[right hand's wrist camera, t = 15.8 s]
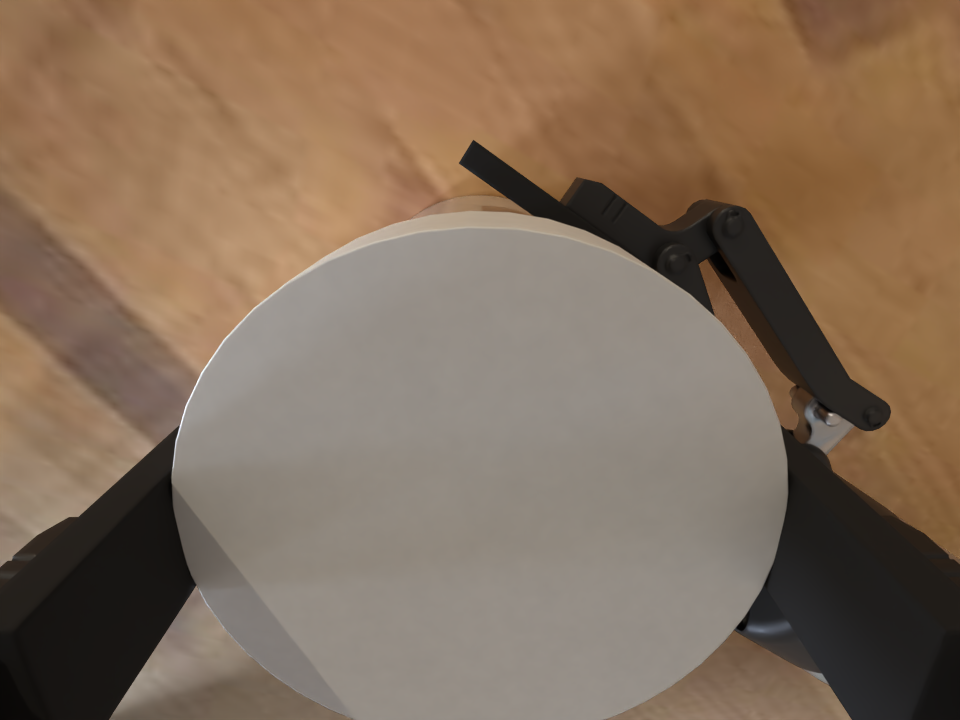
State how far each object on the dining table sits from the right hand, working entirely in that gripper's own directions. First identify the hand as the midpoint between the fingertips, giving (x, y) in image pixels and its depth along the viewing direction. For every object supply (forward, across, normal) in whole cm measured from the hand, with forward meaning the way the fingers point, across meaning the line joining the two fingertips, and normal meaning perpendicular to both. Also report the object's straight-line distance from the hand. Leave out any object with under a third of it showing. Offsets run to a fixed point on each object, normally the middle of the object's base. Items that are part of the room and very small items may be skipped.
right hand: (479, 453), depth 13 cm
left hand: (+6, -4, +2) cm, 8 cm away
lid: (-3, 0, 0) cm, 3 cm away
